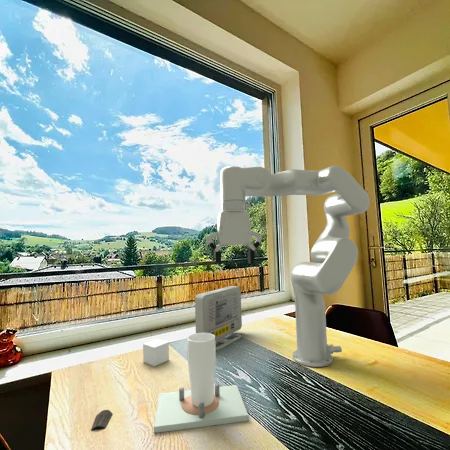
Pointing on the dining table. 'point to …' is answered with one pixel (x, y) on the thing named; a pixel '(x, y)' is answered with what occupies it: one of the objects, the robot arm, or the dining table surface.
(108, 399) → the dining table surface
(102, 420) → the block
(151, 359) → the white cube
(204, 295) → the network device
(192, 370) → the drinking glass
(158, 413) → the pin nest plate
